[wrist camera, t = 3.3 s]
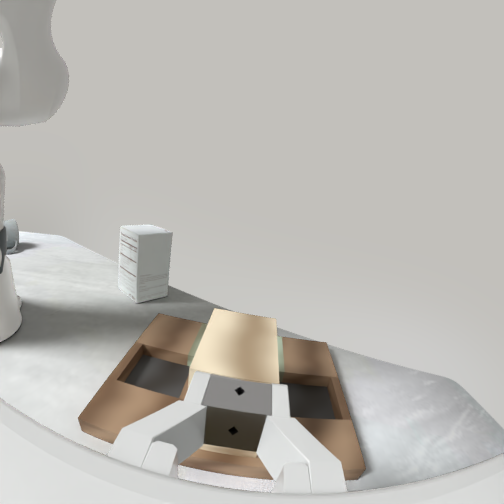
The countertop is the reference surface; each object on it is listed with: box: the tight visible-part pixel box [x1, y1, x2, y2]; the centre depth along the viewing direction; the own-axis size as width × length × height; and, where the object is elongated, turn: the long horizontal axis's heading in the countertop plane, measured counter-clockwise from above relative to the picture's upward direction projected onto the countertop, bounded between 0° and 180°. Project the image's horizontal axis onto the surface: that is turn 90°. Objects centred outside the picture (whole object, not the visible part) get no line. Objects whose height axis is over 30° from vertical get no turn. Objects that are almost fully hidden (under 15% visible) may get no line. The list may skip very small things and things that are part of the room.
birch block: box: [188, 308, 279, 458], centre depth 24 cm, size 6×10×9 cm, turn 177°
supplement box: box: [118, 224, 172, 303], centre depth 51 cm, size 7×7×13 cm
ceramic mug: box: [4, 219, 19, 254], centre depth 55 cm, size 11×8×8 cm
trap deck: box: [78, 313, 366, 480], centre depth 31 cm, size 26×24×2 cm
